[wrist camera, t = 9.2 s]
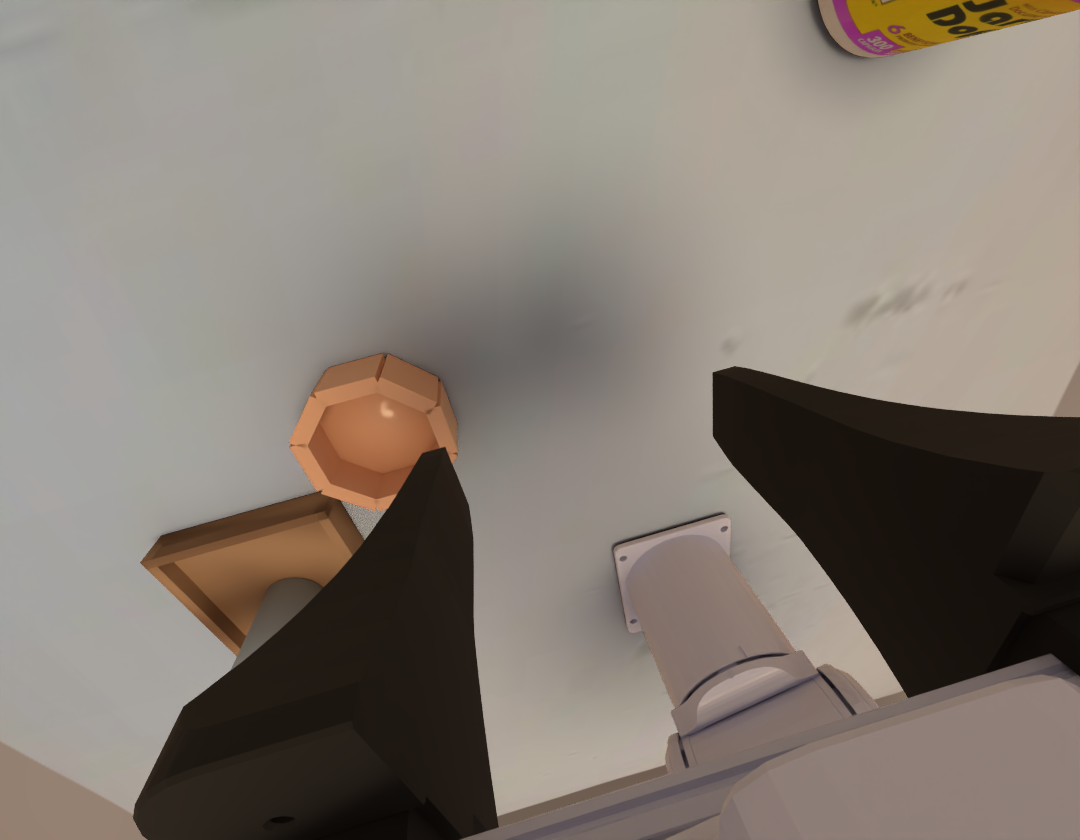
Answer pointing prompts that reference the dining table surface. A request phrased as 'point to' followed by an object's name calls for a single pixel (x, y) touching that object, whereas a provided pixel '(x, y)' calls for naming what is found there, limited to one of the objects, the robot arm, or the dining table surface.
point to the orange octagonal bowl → (372, 429)
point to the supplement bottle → (925, 21)
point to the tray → (252, 559)
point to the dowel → (277, 612)
